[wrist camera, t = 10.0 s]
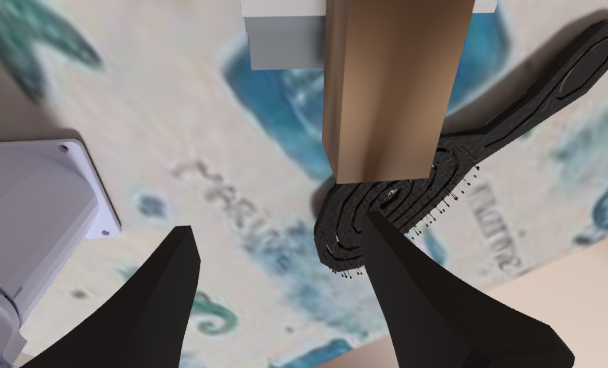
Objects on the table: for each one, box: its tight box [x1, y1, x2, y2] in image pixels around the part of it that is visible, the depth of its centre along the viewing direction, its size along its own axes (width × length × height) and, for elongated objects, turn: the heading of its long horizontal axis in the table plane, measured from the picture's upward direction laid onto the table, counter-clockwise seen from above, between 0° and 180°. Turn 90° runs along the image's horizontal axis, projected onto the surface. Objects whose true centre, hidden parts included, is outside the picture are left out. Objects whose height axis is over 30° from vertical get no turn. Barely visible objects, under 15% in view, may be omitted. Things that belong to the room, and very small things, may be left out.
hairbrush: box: [314, 19, 608, 279], centre depth 22 cm, size 8×4×25 cm
